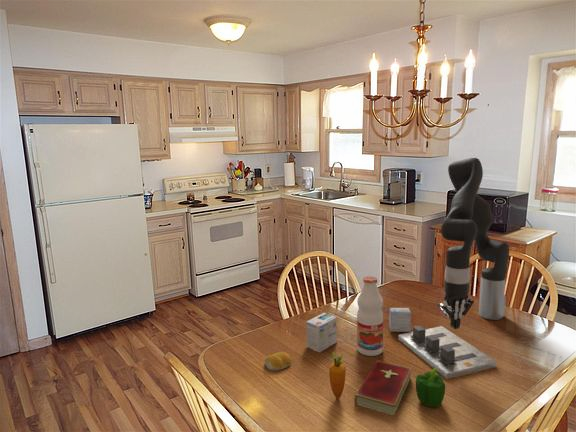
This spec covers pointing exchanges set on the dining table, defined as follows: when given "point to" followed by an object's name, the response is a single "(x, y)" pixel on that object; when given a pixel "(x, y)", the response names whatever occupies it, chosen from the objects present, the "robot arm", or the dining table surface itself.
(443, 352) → the lever
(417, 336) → the lever right
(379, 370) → the hardcover book
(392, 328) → the medicine box
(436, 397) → the bell pepper
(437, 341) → the lever middle
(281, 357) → the bread roll
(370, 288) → the fruit juice
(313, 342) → the light bulb box
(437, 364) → the switch panel
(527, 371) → the dining table surface
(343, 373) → the carrot
